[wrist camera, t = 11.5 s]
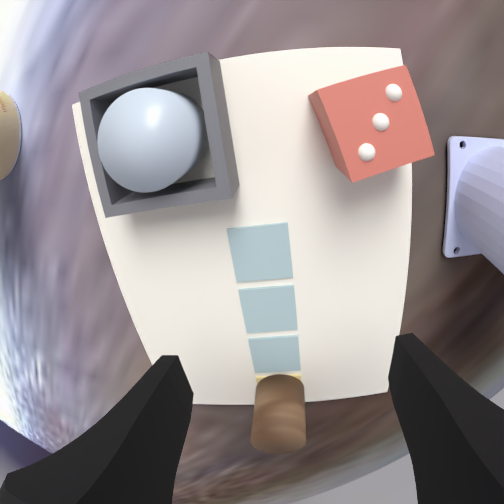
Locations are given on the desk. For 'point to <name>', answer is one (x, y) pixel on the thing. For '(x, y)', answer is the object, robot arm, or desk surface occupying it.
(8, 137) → the coffee cup
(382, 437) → the desk surface
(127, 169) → the dome
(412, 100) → the die
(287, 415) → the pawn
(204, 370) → the board
